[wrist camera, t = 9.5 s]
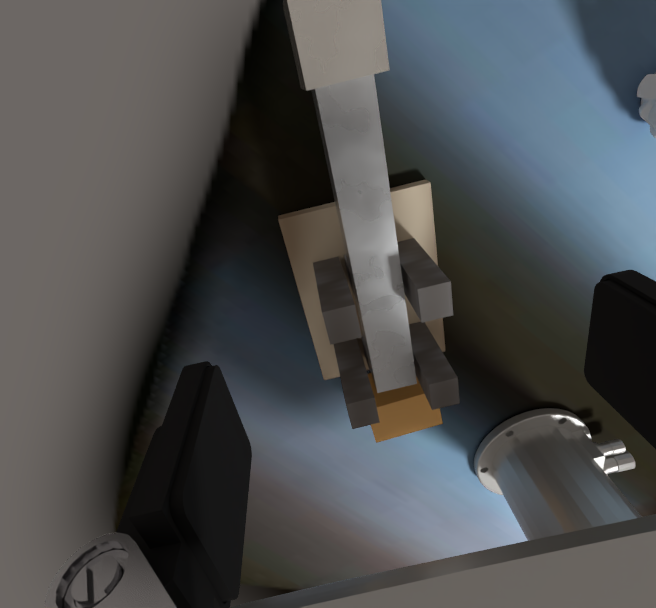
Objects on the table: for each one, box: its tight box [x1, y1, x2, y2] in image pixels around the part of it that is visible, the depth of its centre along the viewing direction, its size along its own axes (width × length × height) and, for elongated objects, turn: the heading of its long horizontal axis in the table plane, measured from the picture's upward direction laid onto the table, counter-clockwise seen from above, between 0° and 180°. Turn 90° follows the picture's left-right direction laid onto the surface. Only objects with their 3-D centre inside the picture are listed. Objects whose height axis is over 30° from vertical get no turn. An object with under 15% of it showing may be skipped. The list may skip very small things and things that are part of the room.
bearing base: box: [278, 180, 460, 429], centre depth 30 cm, size 11×15×8 cm
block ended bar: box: [283, 0, 417, 393], centre depth 26 cm, size 4×24×6 cm, turn 12°
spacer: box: [368, 373, 443, 443], centre depth 37 cm, size 6×4×4 cm
